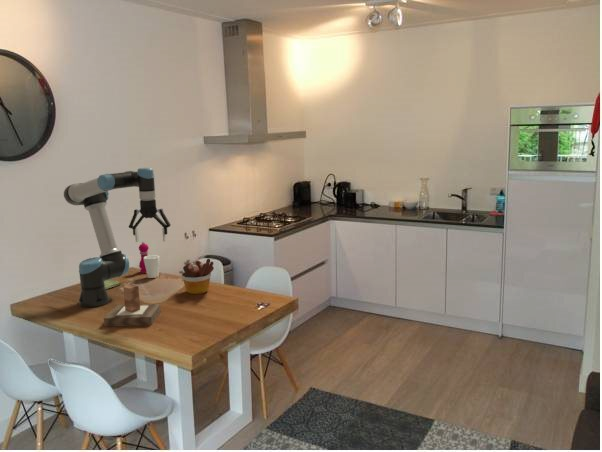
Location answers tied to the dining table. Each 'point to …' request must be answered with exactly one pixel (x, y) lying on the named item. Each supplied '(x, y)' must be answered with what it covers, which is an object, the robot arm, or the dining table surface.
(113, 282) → the washcloth
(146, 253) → the pepper mill
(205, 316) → the dining table surface
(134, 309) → the cherry block
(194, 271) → the bucket of meat
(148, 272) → the foam cup
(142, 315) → the tray
